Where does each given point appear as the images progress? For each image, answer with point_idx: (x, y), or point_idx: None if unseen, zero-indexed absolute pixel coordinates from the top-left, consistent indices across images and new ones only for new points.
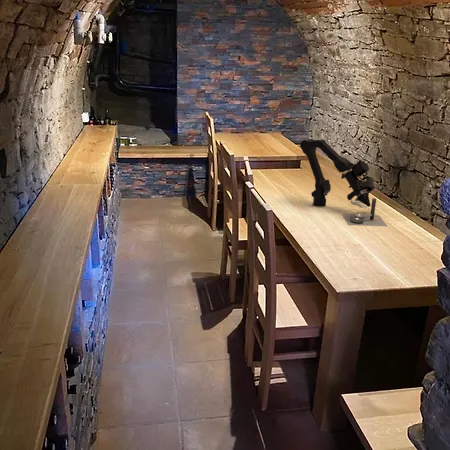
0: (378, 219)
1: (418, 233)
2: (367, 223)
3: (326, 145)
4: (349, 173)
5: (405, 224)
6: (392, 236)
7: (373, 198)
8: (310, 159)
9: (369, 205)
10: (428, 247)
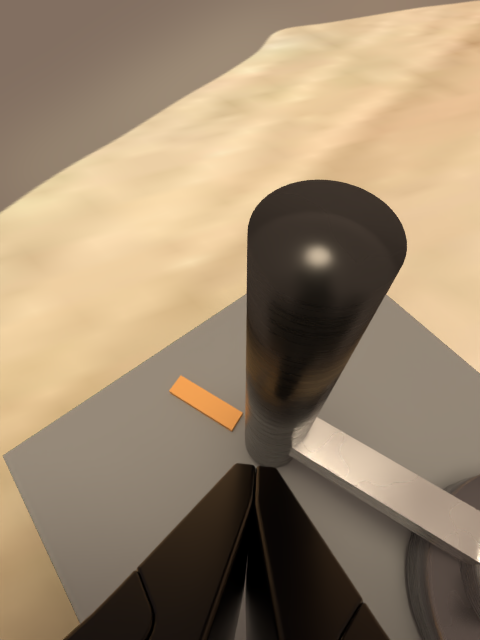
0: (191, 383)
1: (250, 99)
2: (433, 425)
3: None
4: None
5: (114, 194)
6: (461, 173)
7: (311, 271)
8: None
9: (278, 477)
10: (423, 30)
